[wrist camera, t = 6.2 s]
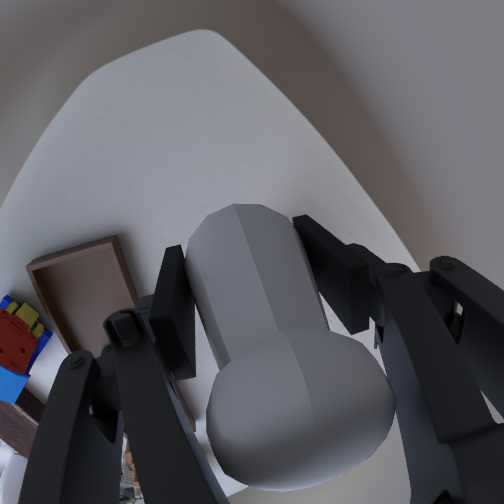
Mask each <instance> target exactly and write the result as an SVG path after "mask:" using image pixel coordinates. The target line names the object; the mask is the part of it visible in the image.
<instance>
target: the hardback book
mask: <svg viewBox="0 0 504 504" xmlns="http://www.w3.org/2000/svg"><path fill="white" fill-rule="evenodd" d="M44 407H45V405H44V404H43V403H42V402H40V401H39V400H38V399H37V398H36V397H35V396H34V395H32V394H31V393H30V392H29V391H28V390H27V389H26V388H25V387H23V389H22V391H21V393H20V394H19V396H18V398H17V400H16V401H15V403H14V404H12V403H8V402H4V401H1V400H0V438H1V439H2V440H3V441H4V442H6V443H7V444H8V445H9V446H11V447H12V448H13V449H15V450H16V451H17V452H19V453H20V454H21V455H23V456H24V457H25V458H27V459H28V458H29V455H30V451H31V448H32V444H33V441H34V438H35V435H36V431H37V428H38V425H39V422H40V419H41V416H42V413H43V410H44Z"/></svg>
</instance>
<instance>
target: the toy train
mask: <svg viewBox="0 0 504 504" xmlns="http://www.w3.org/2000/svg"><path fill="white" fill-rule="evenodd" d="M12 300H13V299H12V298H11V297H10V296H8V295H6V296H5V297H3V298H2V300H1V304H0V400H1V401H4V402H8V403H12V404H14V403H15V401H16V400H17V398H18V396H19V394H20V393H21V391H22V389H23V387H24V386H25V384H26V382H27V380H28V379H29V378H30V376H31V375H29V374H28V373H29V371H30V369H31V367H32V365H33V364H34V362H35V360H36V358H37V357H38V355H39V354H40V352H41V351H42V349H43V348H44V347H45V345H46V344H47V342H49V341H51V340H52V339H51V336H52V334H53V333H51V332H50V331H49V330H48V329H46V330H45V331H44V329H43V327H44V326H43V325H42V324H40V323H39V321H38V319H37V318H38V316H39V314H38V313H37V312H36V311H35V310H34V309H33V308H31V307H30V306H29V305H28V304H27V303H26V302H25V303H24V304H23V305H22V307H21V308H20V309H19V310H18V307H19V305H18V304H17V303H16V301H15V302H12ZM17 310H18V311H17ZM15 313H16V314H15ZM38 323H39V324H38ZM34 324H35V325H37V324H38V325H37V327H36V328H35V330H34V331H33V333H32V332H31V329H32V327H33V325H34ZM39 336H40V337H41V338H40V340H39V339H38V338H39ZM38 340H39V342H38Z"/></svg>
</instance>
